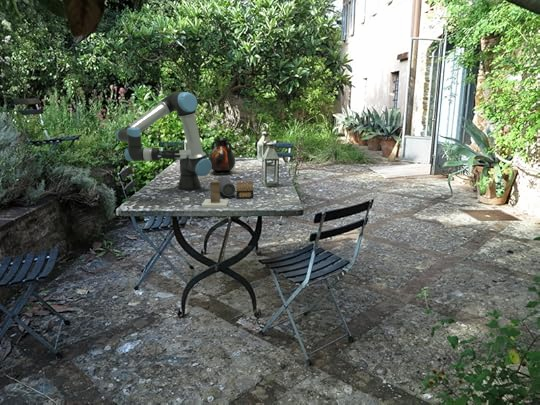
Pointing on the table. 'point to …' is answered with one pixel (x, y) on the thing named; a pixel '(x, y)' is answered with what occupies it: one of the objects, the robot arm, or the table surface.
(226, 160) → the amphora vase
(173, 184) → the table surface
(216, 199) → the walnut block
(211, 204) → the plate
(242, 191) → the ammunition clip
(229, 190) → the bluetooth speaker
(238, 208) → the table surface
